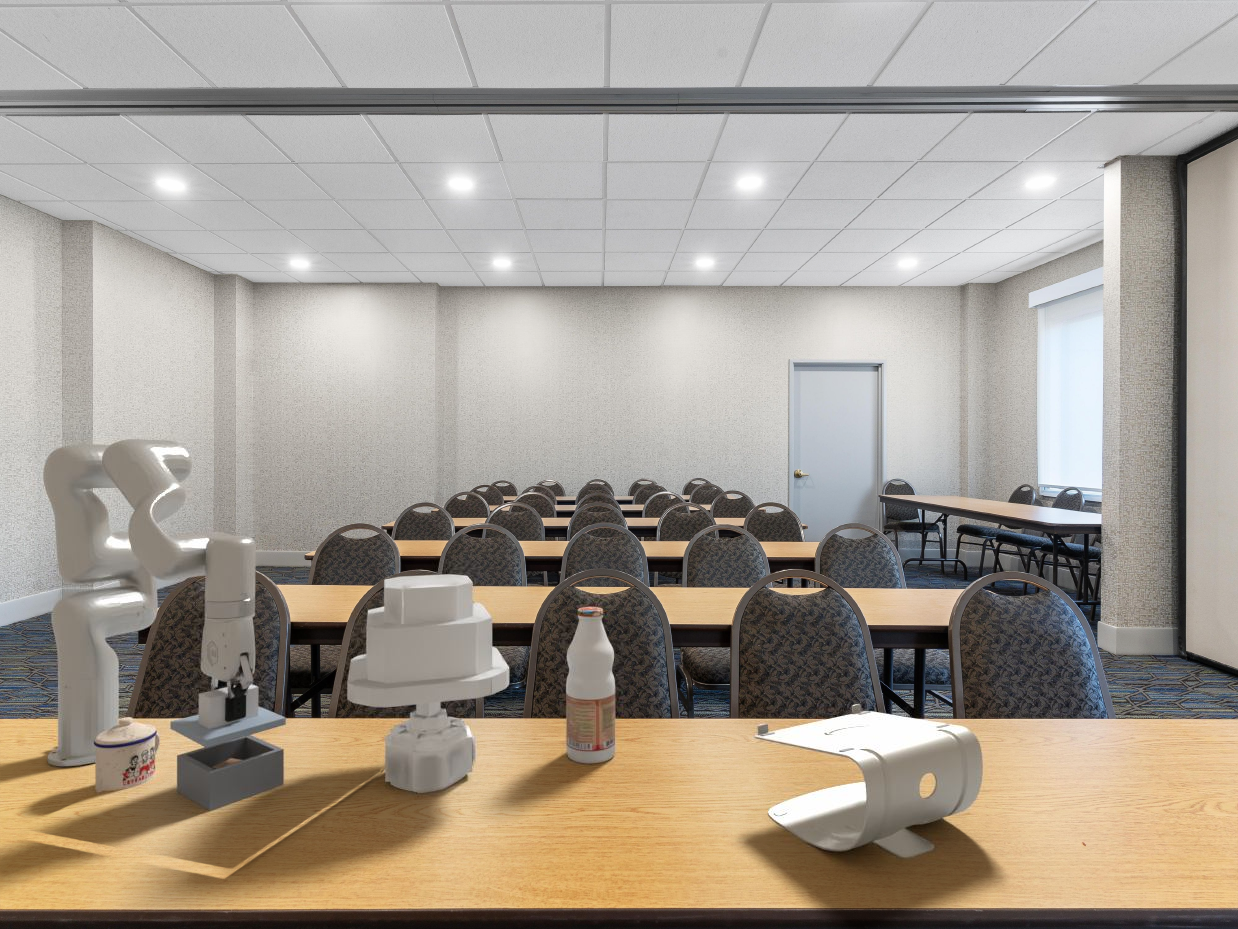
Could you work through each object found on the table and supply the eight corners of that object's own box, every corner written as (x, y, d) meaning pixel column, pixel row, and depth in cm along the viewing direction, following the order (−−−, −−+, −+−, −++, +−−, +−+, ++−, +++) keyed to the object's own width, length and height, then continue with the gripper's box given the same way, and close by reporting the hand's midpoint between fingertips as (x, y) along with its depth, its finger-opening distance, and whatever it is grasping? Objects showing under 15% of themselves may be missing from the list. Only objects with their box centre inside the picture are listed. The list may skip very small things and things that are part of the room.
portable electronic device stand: (862, 883, 96) (861, 765, 96) (750, 809, 117) (750, 712, 117) (988, 836, 108) (987, 732, 108) (866, 777, 128) (865, 689, 129)
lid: (170, 728, 122) (170, 691, 122) (248, 708, 132) (248, 674, 132) (206, 747, 114) (206, 708, 114) (285, 724, 125) (286, 688, 125)
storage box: (177, 797, 122) (177, 755, 122) (248, 773, 131) (248, 734, 131) (210, 817, 115) (210, 773, 115) (283, 790, 124) (283, 749, 124)
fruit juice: (570, 767, 133) (569, 614, 134) (563, 747, 143) (562, 605, 143) (620, 762, 135) (619, 612, 136) (609, 743, 145) (609, 603, 145)
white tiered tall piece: (351, 758, 138) (351, 574, 138) (493, 741, 146) (492, 568, 146) (344, 823, 112) (344, 597, 113) (516, 798, 121) (515, 588, 121)
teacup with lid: (128, 798, 121) (128, 728, 121) (79, 795, 123) (80, 726, 123) (180, 769, 133) (180, 705, 133) (135, 766, 134) (135, 703, 134)
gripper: (184, 605, 125) (183, 711, 125) (231, 619, 115) (229, 734, 115) (229, 599, 131) (227, 700, 131) (277, 612, 121) (275, 721, 121)
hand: (228, 715), depth 123 cm, fingers closed on lid, 4 cm apart
